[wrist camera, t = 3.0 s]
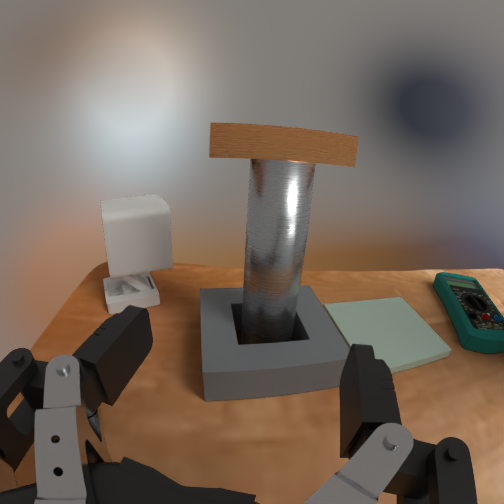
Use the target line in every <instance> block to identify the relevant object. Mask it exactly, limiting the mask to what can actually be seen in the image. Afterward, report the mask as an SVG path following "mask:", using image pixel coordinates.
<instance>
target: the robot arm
mask: <svg viewBox="0 0 504 504" xmlns="http://www.w3.org/2000/svg"><path fill="white" fill-rule="evenodd" d="M152 343H153V337H152V331H151V325H150V319H149V313H148V310H147V309H146V308H142V307H137V306H133V305H128V306H127V307H126V308H125V309H124V310H123V311H122V312H121V313H120V314H115V315H113V316H112V317H110V318H108V319H106V320H105V321H104V322H103V323H102V324H101V325H100V326H99V328H97V329H96V330H95V332H94V333H93V334H92V335H91V336H90V337H89V338H88V339H87V340H86V341H85V342H84V343H83V344H82V345H81V346H80V347H79V348H78V349H77V350H76V351H75V353H74V354H73V355H72V356H71V355H60V356H57V357H55V358H53V359H52V360H51V361H50V362H43V361H37V360H35V359H34V357H33V355H32V353H31V351H30V350H28V349H26V348H19V349H15V350H13V351H12V352H10V353H9V354H8V355H7V356H6V357H5V358H4V359H3V360H2V361H1V362H0V504H260V503H257V502H255V497H256V495H252V494H247V493H241V492H236V491H231V490H226V489H222V488H200V487H186V486H182V485H180V484H178V483H176V482H175V481H173V480H171V479H170V478H168V477H166V476H165V475H163V474H161V473H160V472H158V471H157V470H155V469H154V468H151V467H149V466H146V465H144V464H141V463H139V462H136V461H134V460H131V459H129V458H126V457H124V458H123V459H122V461H121V463H117V462H112V460H111V457H110V455H109V453H108V450H107V447H106V442H105V437H104V431H103V425H102V418H101V411H100V408H99V406H100V404H101V403H102V402H104V403H106V404H108V405H111V406H113V404H114V403H115V401H116V400H117V398H118V397H119V395H120V394H121V393H122V391H123V390H124V388H125V387H126V385H127V384H128V382H129V381H130V379H131V378H132V377H133V375H134V374H135V372H136V371H137V369H138V368H139V366H140V365H141V364H142V362H143V361H144V359H145V358H146V356H147V355H148V353H149V352H150V350H151V348H152ZM392 381H393V379H392V374H391V370H390V368H389V367H388V365H387V364H386V363H385V361H384V360H383V359H375V355H374V350H373V346H372V345H364V344H352V345H351V348H350V350H349V353H348V356H347V359H346V362H345V365H344V368H343V370H342V374H341V378H340V458H349V461H348V462H347V463H346V464H345V465H344V466H343V467H342V469H341V470H340V471H338V472H337V473H335V474H334V475H333V476H332V477H331V478H330V479H329V480H328V481H327V482H326V483H325V484H324V485H323V486H322V487H321V488H319V489H318V490H317V491H316V492H315V493H314V494H313V495H312V496H311V497H310V498H309V499H307V500H306V501H305V502H304V503H303V504H376V503H377V501H378V497H379V495H380V494H381V493H382V492H386V493H391V494H395V495H397V504H477V496H476V488H475V480H474V474H473V468H472V462H471V457H470V452H469V449H468V447H467V445H466V444H465V443H464V442H463V441H462V440H460V439H458V438H455V437H448V438H445V439H443V440H441V441H440V442H439V443H438V444H437V445H435V444H430V443H426V442H422V441H418V440H416V439H413V437H412V435H411V433H410V432H409V430H408V429H407V428H405V427H404V426H402V424H401V419H400V413H399V408H398V403H397V398H396V393H395V391H394V389H395V388H394V383H393V382H392ZM19 392H21V394H22V395H23V397H24V399H23V400H22V402H21V403H20V404H19V406H18V407H17V408H16V410H15V411H14V412H13V413H12V415H11V416H10V417H9V418H8V417H7V408H8V406H9V405H10V404H11V402H12V401H13V400H14V399H15V397H16V396H17V395H18V394H19ZM34 441H35V469H36V482H37V483H34V484H30V485H26V486H23V487H19V488H17V486H18V484H17V481H16V480H15V479H14V477H15V476H14V472H15V471H16V469H17V467H18V466H19V464H20V462H21V461H22V459H23V458H24V456H25V455H26V453H27V451H28V450H29V448H30V447H31V445H32V444H33V442H34Z"/></svg>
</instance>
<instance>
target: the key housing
mask: <svg viewBox="0 0 504 504" xmlns="http://www.w3.org/2000/svg"><path fill="white" fill-rule="evenodd" d="M242 304H243V288H215V289H200V312H201V349H202V373H203V386H204V397H205V401H222V400H239V399H252V398H263V397H273V396H282V395H290V394H297V393H304V392H311V391H317V390H323V389H329V388H334V387H339V386H340V378H341V374H342V370H343V368H344V365H345V362H346V359H347V356H348V353H349V348H348V346H347V345H346V343H345V341H344V340H343V338H342V337H341V335H340V333H339V332H338V330H337V329H336V327H335V325H334V324H333V322H332V321H331V319H330V317H329V316H328V314H327V313H326V311H325V309H324V308H323V306H322V305H321V303H320V301H319V300H318V298H317V297H316V295H315V294H314V292H313V290H312V289H311V287H310V286H309V285H307V286H300V289H299V295H298V302H297V308H296V314H295V320H294V326H293V331H292V337H291V339H292V341H289V342H277V343H264V344H248V345H238V342H237V336H236V331H241V324H242Z"/></svg>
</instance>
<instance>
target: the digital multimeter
mask: <svg viewBox="0 0 504 504" xmlns="http://www.w3.org/2000/svg"><path fill="white" fill-rule="evenodd" d="M433 286H434V288H435V290H436V292H437V294H438V295H439V297H440V299H441V300H442V302H443V304H444V306H445V308H446V310H447V312H448V314H449V316H450V318H451V320H452V323H453V325H454V327H455V329H456V332H457V334H458V337H459V340H460V343H461V345H462V347H463V348H464V349H468V350H472V351H477V352H482V353H501V352H504V318H503V316H502V315H501V313H500V312H499V310H498V309H497V308H496V306H495V305H494V303H493V302H492V301H491V299H490V298H489V296H488V295H487V294H486V292H485V291H484V289H483V288H482V286H481V285H480V284H479V282H478V281H477V280H476V279H475V278H473V277H469V276H464V275H459V274H453V273H445V272H441V273H437V274H436V277H435V280H434V283H433ZM467 294H470V295H467Z"/></svg>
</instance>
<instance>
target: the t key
mask: <svg viewBox="0 0 504 504" xmlns="http://www.w3.org/2000/svg"><path fill="white" fill-rule="evenodd" d="M357 143H358V137H357V136H351V135H345V134H339V133H332V132H325V131H317V130H309V129H301V128H292V127H282V126H270V125H256V124H235V123H210V144H209V157H212V158H250V159H251V160H250V176H249V193H248V210H247V229H246V247H245V266H244V285H243V304H242V324H241V345H248V344H264V343H277V342H289V341H291V337H292V331H293V326H294V320H295V314H296V308H297V302H298V295H299V289H300V283H301V276H302V269H303V262H304V255H305V248H306V240H307V233H308V225H309V217H310V208H311V200H312V191H313V182H314V172H315V163H323V164H332V165H341V166H349V167H355V162H356V153H357Z"/></svg>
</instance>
